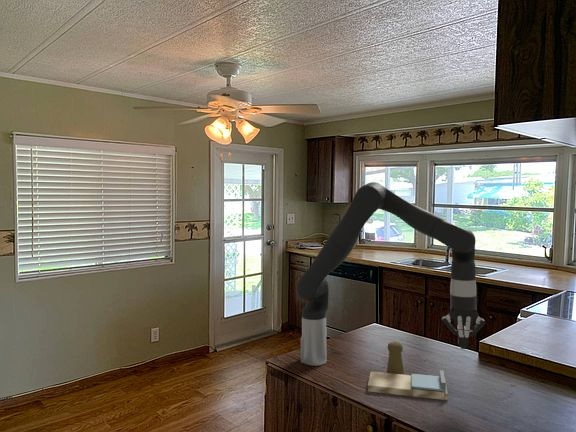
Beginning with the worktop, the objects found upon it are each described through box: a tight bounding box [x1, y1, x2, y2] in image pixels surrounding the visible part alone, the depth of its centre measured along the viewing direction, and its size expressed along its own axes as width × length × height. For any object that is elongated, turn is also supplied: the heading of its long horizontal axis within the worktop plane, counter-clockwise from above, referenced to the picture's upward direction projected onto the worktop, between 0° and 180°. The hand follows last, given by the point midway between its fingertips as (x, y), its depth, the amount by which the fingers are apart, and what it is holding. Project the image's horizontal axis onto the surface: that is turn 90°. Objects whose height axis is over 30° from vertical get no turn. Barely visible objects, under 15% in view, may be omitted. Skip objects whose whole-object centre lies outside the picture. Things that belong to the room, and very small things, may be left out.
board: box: [367, 371, 449, 401], centre depth 137 cm, size 24×11×2 cm, turn 74°
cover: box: [411, 369, 447, 392], centre depth 135 cm, size 10×10×3 cm
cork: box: [386, 341, 405, 375], centre depth 148 cm, size 6×6×11 cm
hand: (463, 348), depth 131 cm, fingers closed
